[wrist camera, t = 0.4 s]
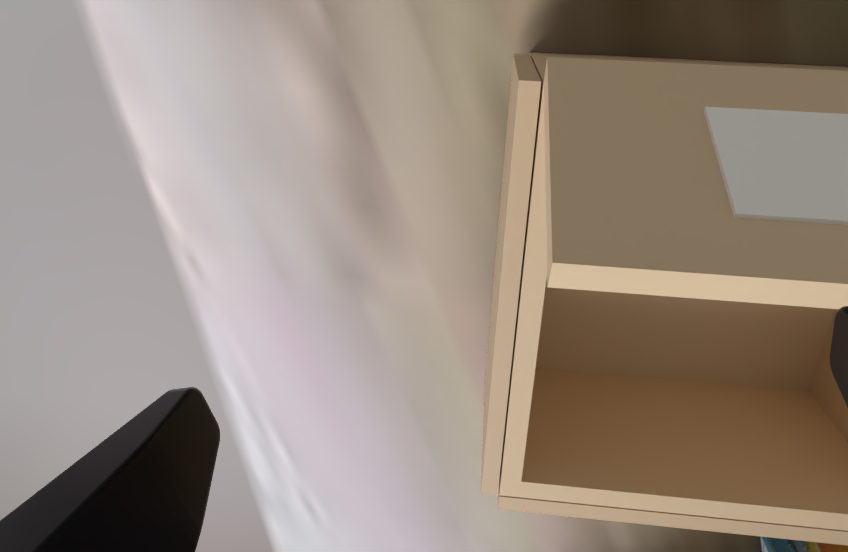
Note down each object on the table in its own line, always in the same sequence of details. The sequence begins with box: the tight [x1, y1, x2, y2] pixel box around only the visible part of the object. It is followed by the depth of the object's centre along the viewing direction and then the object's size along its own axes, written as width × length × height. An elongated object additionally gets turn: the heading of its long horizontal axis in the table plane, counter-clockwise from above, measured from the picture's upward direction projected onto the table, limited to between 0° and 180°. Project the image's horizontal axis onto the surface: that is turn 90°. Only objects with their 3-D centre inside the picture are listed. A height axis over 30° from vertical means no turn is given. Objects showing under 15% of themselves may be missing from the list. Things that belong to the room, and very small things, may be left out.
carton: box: [481, 52, 848, 545], centre depth 20 cm, size 12×13×7 cm
